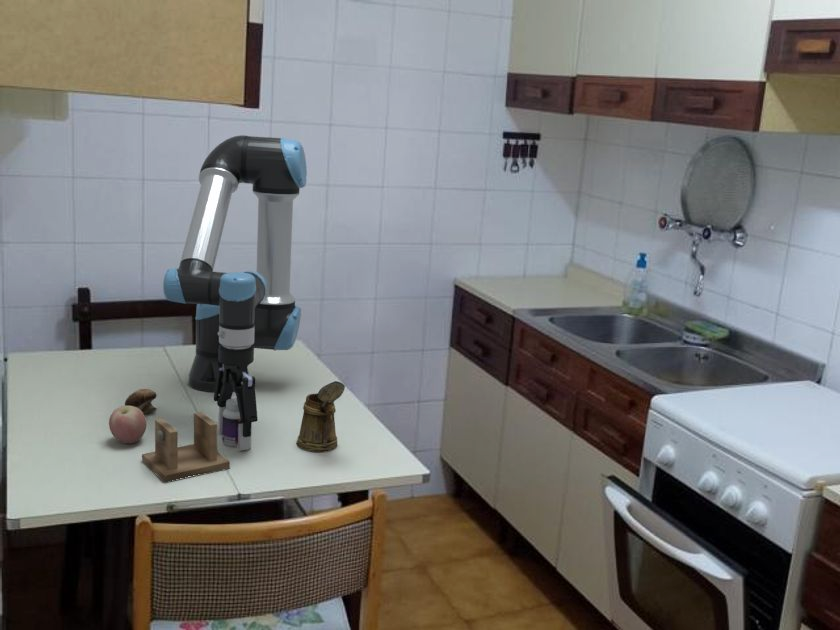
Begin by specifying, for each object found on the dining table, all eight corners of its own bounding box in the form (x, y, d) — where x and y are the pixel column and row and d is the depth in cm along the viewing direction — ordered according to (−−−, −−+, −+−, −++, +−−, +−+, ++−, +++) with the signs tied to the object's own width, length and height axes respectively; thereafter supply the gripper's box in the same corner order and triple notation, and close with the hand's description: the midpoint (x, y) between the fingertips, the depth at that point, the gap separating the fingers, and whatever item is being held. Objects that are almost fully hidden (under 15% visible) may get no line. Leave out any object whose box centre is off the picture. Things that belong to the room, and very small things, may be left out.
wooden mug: (312, 463, 190) (315, 383, 185) (291, 439, 201) (294, 364, 197) (350, 457, 194) (355, 379, 189) (328, 435, 205) (331, 361, 201)
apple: (104, 438, 194) (103, 404, 192) (138, 432, 199) (138, 399, 197) (116, 451, 188) (116, 416, 186) (151, 445, 193) (151, 410, 191)
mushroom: (168, 401, 210) (153, 379, 209) (140, 420, 205) (124, 398, 205) (158, 407, 216) (144, 385, 216) (131, 425, 212) (116, 403, 211)
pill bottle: (241, 448, 194) (242, 406, 192) (218, 445, 195) (218, 403, 193) (250, 439, 200) (251, 398, 197) (228, 436, 201) (228, 395, 198)
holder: (142, 460, 185) (141, 418, 182) (205, 448, 193) (205, 407, 191) (164, 482, 176) (164, 437, 173) (229, 468, 184) (230, 425, 182)
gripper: (198, 333, 198) (197, 428, 203) (243, 360, 181) (241, 462, 187) (229, 330, 202) (227, 422, 208) (276, 356, 186) (273, 455, 191)
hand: (234, 441), depth 197 cm, fingers open, 9 cm apart
